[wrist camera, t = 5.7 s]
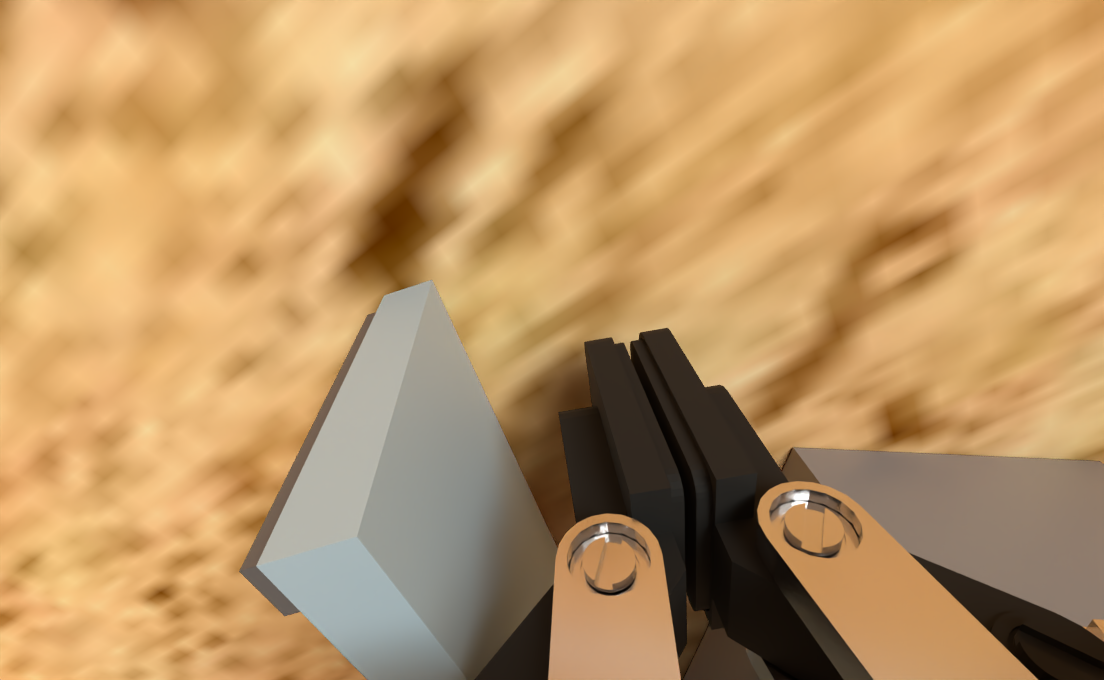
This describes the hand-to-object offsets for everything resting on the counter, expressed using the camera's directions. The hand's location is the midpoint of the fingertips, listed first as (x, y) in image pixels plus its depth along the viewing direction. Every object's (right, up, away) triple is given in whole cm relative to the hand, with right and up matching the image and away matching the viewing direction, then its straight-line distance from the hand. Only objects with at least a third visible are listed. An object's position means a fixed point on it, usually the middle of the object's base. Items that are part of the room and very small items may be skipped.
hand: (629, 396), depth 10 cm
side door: (-1, -7, +5) cm, 9 cm away
